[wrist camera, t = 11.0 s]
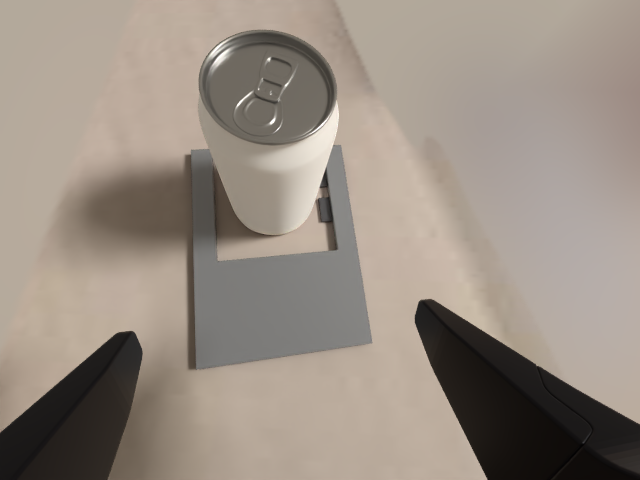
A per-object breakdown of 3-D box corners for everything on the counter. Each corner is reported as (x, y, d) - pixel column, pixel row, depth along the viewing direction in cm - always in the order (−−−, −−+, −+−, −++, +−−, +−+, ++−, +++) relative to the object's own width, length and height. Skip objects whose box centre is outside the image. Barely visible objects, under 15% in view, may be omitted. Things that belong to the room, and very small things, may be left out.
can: (218, 222, 22) (158, 120, 11) (247, 151, 24) (222, 0, 13) (299, 247, 23) (323, 176, 11) (322, 176, 25) (363, 52, 13)
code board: (369, 342, 22) (372, 343, 21) (198, 368, 20) (196, 369, 19) (339, 148, 26) (340, 144, 25) (193, 153, 24) (190, 149, 23)
